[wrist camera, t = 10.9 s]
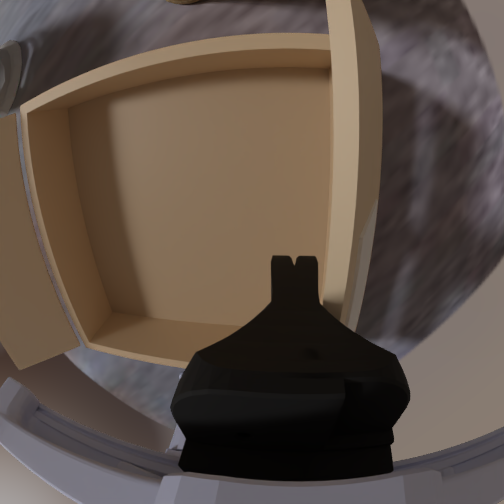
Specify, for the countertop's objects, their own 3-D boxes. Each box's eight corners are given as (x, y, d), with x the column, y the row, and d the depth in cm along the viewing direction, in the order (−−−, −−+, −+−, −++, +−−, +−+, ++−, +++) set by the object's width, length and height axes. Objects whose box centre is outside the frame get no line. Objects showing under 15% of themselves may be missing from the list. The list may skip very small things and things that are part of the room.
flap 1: (19, 370, 16) (19, 366, 16) (80, 345, 20) (79, 342, 20) (-62, 147, 7) (-60, 148, 7) (15, 113, 11) (16, 114, 11)
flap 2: (335, 377, 17) (343, 379, 17) (292, 463, 12) (302, 466, 11) (367, 44, 8) (381, 45, 8) (319, -37, 3) (348, -39, 3)
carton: (325, 330, 22) (329, 377, 17) (111, 313, 24) (86, 347, 20) (339, 59, 13) (358, 37, 8) (65, 101, 16) (20, 105, 11)
